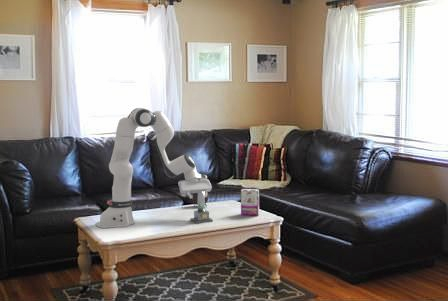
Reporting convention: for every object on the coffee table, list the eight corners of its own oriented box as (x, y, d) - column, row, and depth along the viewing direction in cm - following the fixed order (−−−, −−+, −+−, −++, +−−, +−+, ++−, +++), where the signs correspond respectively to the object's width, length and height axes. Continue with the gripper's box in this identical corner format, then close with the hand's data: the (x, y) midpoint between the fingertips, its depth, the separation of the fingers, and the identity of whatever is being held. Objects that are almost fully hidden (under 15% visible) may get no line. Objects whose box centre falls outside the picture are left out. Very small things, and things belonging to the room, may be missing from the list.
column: (199, 212, 334) (199, 192, 332) (196, 210, 338) (196, 191, 336) (206, 211, 336) (206, 192, 334) (203, 210, 340) (203, 190, 338)
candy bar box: (259, 214, 354) (259, 189, 352) (258, 216, 349) (258, 190, 347) (242, 213, 356) (242, 188, 354) (240, 215, 352) (240, 189, 350)
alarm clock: (208, 205, 380) (208, 182, 378) (207, 207, 375) (207, 183, 373) (193, 205, 381) (192, 182, 379) (191, 207, 376) (191, 183, 374)
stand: (196, 223, 331) (196, 213, 330) (190, 220, 339) (190, 210, 339) (212, 221, 336) (212, 211, 335) (206, 218, 344) (206, 208, 343)
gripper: (178, 177, 340) (184, 196, 333) (208, 175, 349) (215, 193, 341) (176, 183, 345) (181, 202, 337) (206, 181, 353) (212, 199, 346)
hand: (198, 197), depth 339 cm, fingers open, 8 cm apart
